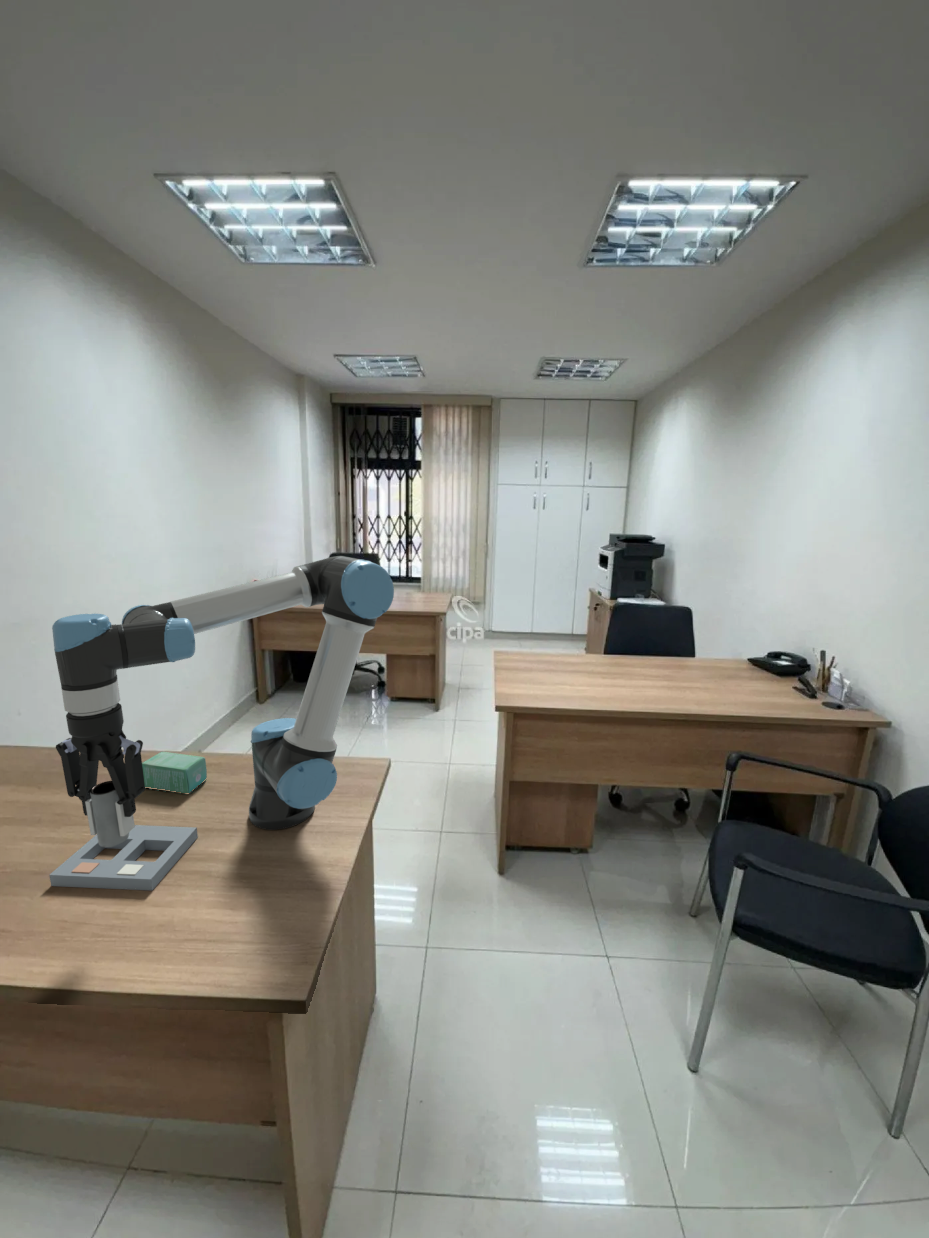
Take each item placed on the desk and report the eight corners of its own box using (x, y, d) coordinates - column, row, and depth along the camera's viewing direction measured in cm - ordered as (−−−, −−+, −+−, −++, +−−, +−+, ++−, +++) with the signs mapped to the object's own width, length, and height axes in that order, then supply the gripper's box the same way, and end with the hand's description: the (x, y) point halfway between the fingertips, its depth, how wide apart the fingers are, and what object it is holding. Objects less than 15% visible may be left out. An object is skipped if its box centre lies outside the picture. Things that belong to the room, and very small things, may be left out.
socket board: (197, 837, 113) (196, 826, 112) (152, 890, 97) (150, 878, 97) (110, 833, 113) (108, 823, 113) (51, 886, 98) (49, 873, 97)
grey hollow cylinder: (108, 831, 91) (100, 780, 89) (134, 830, 92) (127, 779, 89) (92, 848, 87) (83, 794, 85) (120, 847, 87) (112, 793, 85)
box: (189, 795, 129) (186, 768, 127) (143, 789, 131) (139, 763, 130) (208, 780, 136) (206, 755, 134) (164, 775, 138) (161, 750, 137)
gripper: (159, 700, 87) (174, 819, 92) (60, 697, 88) (80, 816, 93) (130, 718, 80) (148, 846, 85) (22, 714, 80) (46, 842, 86)
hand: (113, 830), depth 89 cm, fingers closed on grey hollow cylinder, 4 cm apart
